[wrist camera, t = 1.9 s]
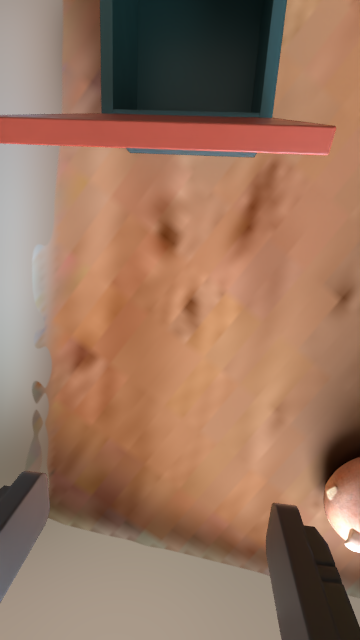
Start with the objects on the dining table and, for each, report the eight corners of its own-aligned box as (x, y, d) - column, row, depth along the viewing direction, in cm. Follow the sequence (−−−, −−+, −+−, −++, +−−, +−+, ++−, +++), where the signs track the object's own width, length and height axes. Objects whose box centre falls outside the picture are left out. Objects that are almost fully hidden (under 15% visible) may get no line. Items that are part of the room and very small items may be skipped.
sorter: (131, -9, 29) (98, -115, 20) (273, -11, 28) (302, -123, 19) (130, 152, 33) (101, 122, 24) (254, 157, 32) (271, 127, 23)
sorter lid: (-36, 115, 11) (-27, 142, 12) (337, 125, 10) (329, 155, 11) (98, 113, 24) (100, 126, 24) (273, 117, 22) (271, 131, 23)
